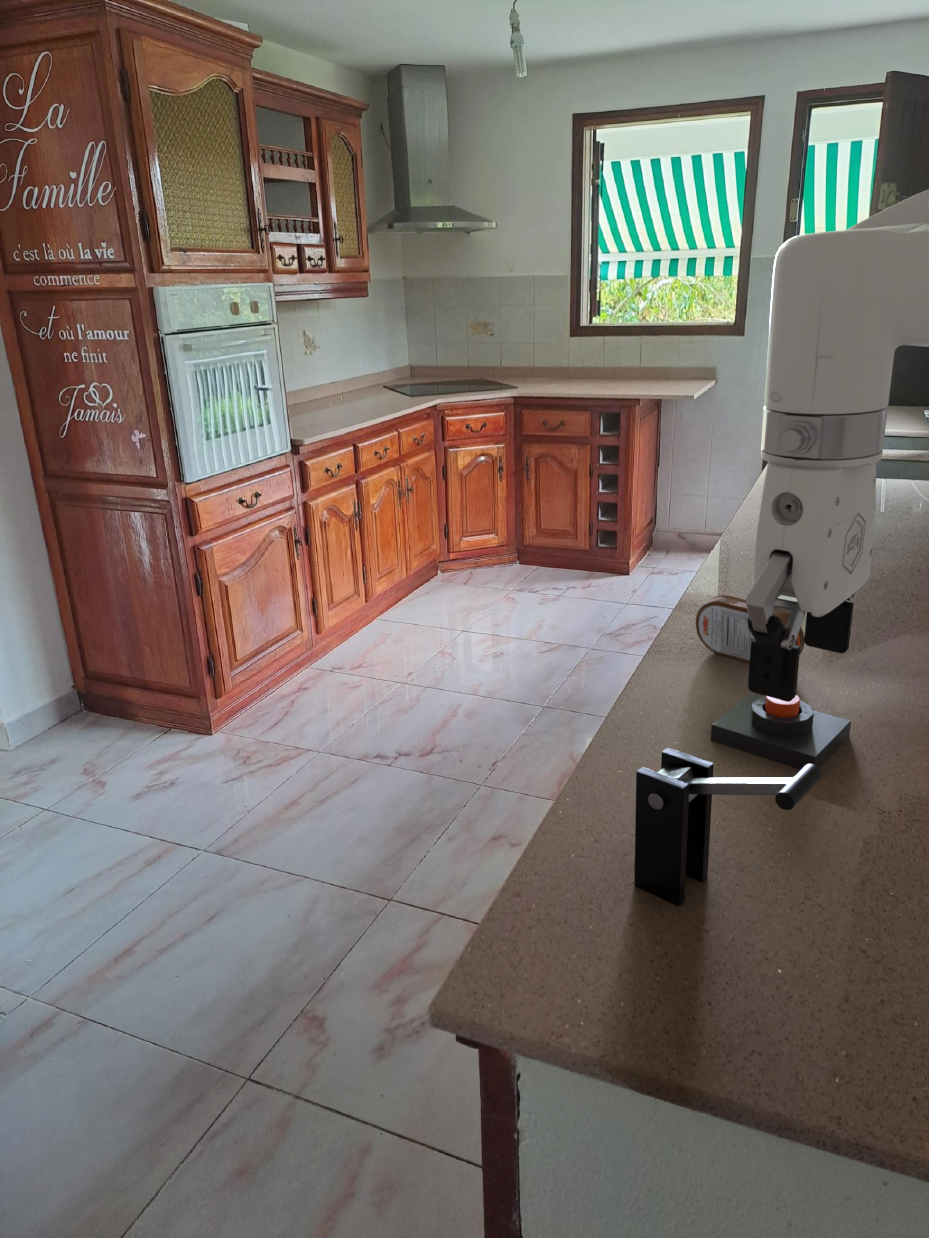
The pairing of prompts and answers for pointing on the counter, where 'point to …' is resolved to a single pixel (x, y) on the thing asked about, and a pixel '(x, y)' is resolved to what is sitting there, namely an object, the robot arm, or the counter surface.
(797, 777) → the lever
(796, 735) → the control block
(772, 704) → the button
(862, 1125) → the counter surface
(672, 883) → the bracket
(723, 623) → the tin
